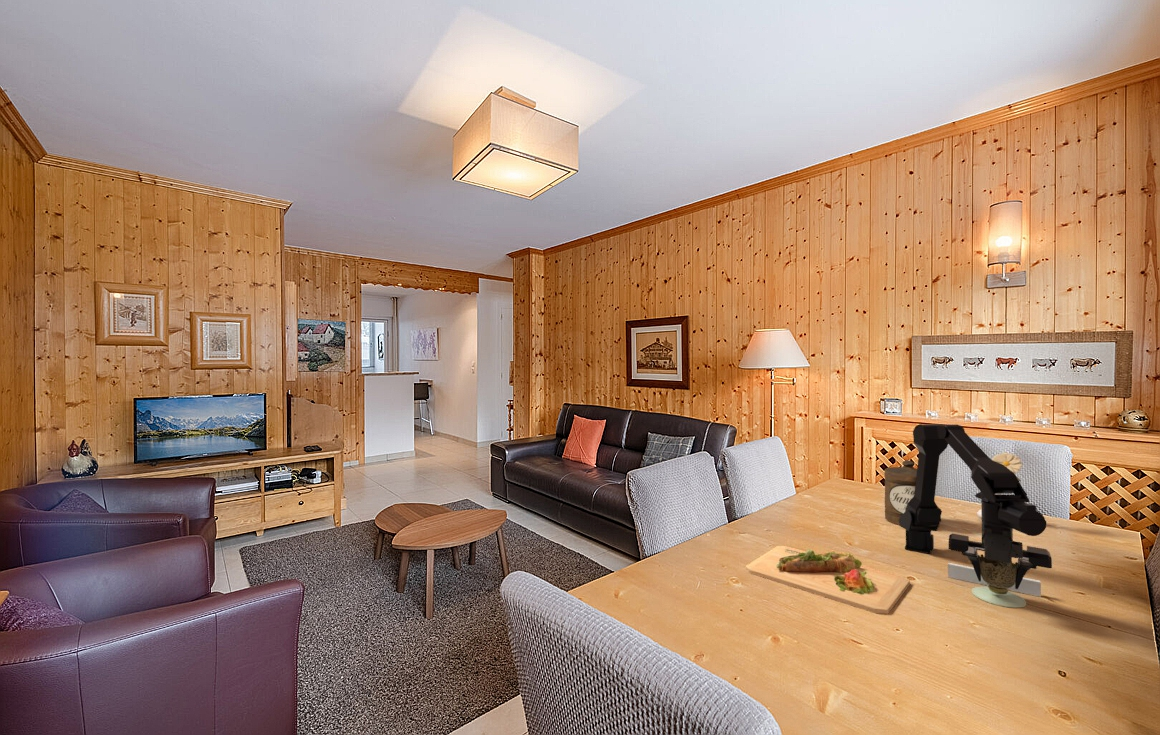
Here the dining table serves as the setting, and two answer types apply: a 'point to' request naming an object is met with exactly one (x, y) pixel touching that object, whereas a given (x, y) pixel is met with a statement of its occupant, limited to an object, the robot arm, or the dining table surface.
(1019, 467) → the flower in vase
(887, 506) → the wooden container
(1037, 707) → the dining table surface
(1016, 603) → the pad
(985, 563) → the cup
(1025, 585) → the acrylic wall
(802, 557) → the cutting board
